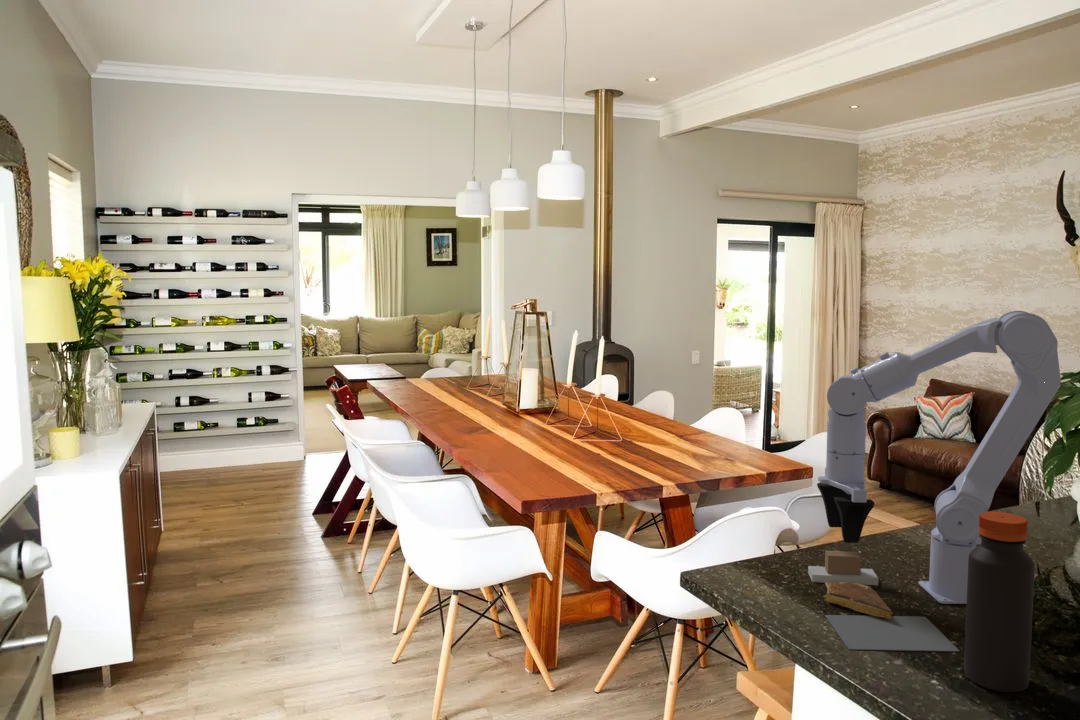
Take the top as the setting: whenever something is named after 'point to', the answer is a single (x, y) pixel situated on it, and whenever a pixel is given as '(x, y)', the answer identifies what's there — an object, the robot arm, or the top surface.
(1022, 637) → the bottle
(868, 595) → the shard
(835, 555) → the grout float
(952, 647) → the felt mat
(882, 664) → the top surface
